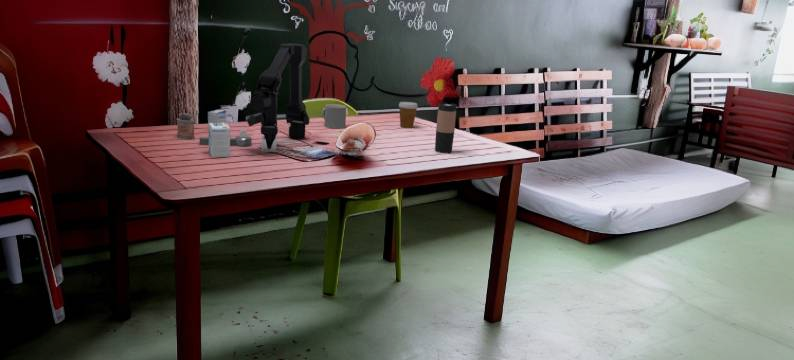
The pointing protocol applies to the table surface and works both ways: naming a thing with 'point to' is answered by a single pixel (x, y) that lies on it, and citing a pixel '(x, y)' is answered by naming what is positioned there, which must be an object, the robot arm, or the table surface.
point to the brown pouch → (185, 126)
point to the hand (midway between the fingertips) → (268, 147)
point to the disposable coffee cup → (407, 114)
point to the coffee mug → (334, 116)
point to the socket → (264, 145)
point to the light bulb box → (219, 140)
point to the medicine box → (216, 117)
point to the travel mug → (445, 127)
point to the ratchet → (233, 140)
